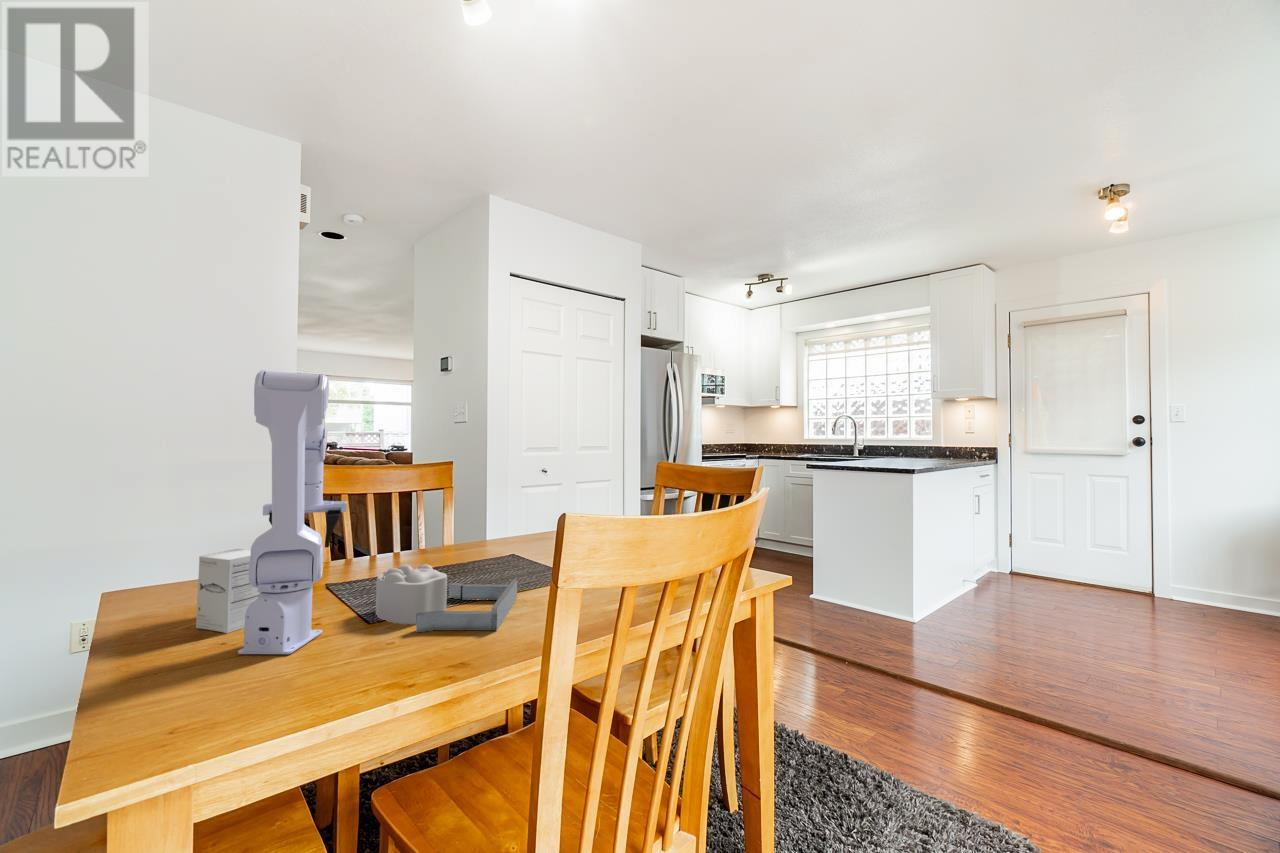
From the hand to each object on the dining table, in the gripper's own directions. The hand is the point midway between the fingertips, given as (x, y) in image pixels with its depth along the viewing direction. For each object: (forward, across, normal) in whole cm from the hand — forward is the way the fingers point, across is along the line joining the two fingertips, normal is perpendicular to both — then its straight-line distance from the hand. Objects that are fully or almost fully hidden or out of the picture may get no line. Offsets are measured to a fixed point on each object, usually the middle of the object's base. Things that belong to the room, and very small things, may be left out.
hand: (305, 547), depth 111 cm
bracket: (+8, -29, +24) cm, 38 cm away
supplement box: (+10, +10, +13) cm, 19 cm away
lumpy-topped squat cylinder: (+9, -18, +19) cm, 28 cm away
